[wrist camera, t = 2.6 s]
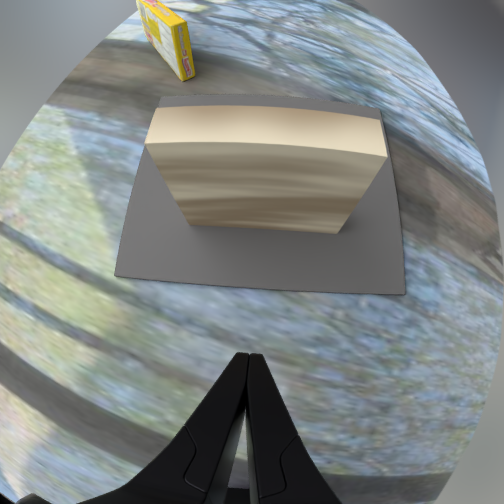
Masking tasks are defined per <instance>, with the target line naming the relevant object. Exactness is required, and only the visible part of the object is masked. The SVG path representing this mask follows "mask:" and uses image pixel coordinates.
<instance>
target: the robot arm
mask: <svg viewBox="0 0 504 504" xmlns="http://www.w3.org/2000/svg"><path fill="white" fill-rule="evenodd" d="M245 409H246V413H245ZM244 416H246V437H247V454H248V471H249V486H250V489H237V488H227V486H228V482H229V478H230V474H231V470H232V466H233V462H234V458H235V454H236V450H237V446H238V442H239V438H240V433H241V429H242V425H243V421H244ZM184 425H185V426H183V427H182V428H181V429H180V431H179V432H178V433H177V434H176V436H175V437H174V438H173V439H172V440H171V442H170V443H169V444H168V445H167V446H166V447H165V448H164V449H163V450H162V451H161V452H160V453H159V454H158V455H157V456H156V457H155V458H154V459H153V460H152V461H151V462H150V463H149V464H148V465H147V466H146V467H145V468H144V469H143V470H141V471H140V472H139V473H138V474H137V475H136V476H135V477H134V478H133V479H131V480H130V481H129V482H128V483H126V484H125V485H123V486H122V487H120V488H118V489H116V490H114V491H111V492H108V493H106V494H103V495H100V496H98V497H95V498H92V499H89V500H86V501H83V502H80V503H77V504H342V502H341V501H340V500H339V499H338V497H337V496H336V495H335V493H334V492H333V491H332V489H331V488H330V486H329V485H328V483H327V482H326V481H325V479H324V478H323V476H322V475H321V473H320V472H319V471H318V469H317V467H316V466H315V464H314V463H313V461H312V459H311V458H310V456H309V454H308V452H307V450H306V448H305V446H304V445H303V442H302V440H301V438H300V436H299V435H298V432H297V430H296V428H295V426H294V423H293V421H292V419H291V417H290V415H289V412H288V410H287V408H286V406H285V404H284V401H283V399H282V397H281V395H280V393H279V390H278V388H277V386H276V384H275V381H274V379H273V377H272V375H271V372H270V370H269V368H268V365H267V363H266V361H265V359H264V356H263V355H262V354H256V353H251V354H250V356H249V354H248V353H242V352H237V353H236V354H235V355H234V357H233V358H232V360H231V361H230V362H229V364H228V365H227V367H226V368H225V370H224V371H223V372H222V374H221V375H220V377H219V378H218V379H217V381H216V382H215V383H214V385H213V386H212V388H211V389H210V390H209V392H208V393H207V394H206V396H205V397H204V399H203V400H202V401H201V403H200V404H199V405H198V407H197V408H196V409H195V411H194V412H193V413H192V415H191V416H190V417H189V419H188V420H187V421H186V423H185V424H184ZM0 504H52V503H50V502H48V501H46V500H44V499H43V498H41V497H39V496H37V495H36V494H34V493H31V494H29V495H27V496H25V497H23V498H22V499H20V500H19V501H17V503H15V502H13V501H12V500H10V499H9V498H7V497H6V496H5V495H3V494H2V493H0Z"/></svg>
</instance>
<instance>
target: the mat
mask: <svg viewBox="0 0 504 504" xmlns="http://www.w3.org/2000/svg"><path fill="white" fill-rule="evenodd" d="M218 105H229V106H265V107H282V108H295V109H306V110H316V111H325V112H333V113H340V114H347V115H354V116H360V117H366V118H372V119H377V120H380V123H381V128H382V132H383V137H384V141H385V146H386V151H387V156H388V157H387V159H386V160H385V162H384V163H383V165H382V167H381V168H380V170H379V171H378V173H377V175H376V176H375V178H374V179H373V181H372V182H371V184H370V185H369V187H368V188H367V190H366V192H365V193H364V195H363V196H362V198H361V199H360V201H359V202H358V204H357V205H356V207H355V208H354V210H353V211H352V213H351V214H350V216H349V217H348V219H347V220H346V222H345V223H344V224H343V226H342V227H341V229H340V230H339V232H338V233H337V234H331V233H318V232H303V231H289V230H273V229H257V228H239V227H221V226H201V225H189V224H188V222H187V220H186V219H185V217H184V215H183V213H182V211H181V210H180V208H179V206H178V204H177V203H176V201H175V199H174V197H173V195H172V194H171V192H170V190H169V188H168V186H167V185H166V183H165V181H164V179H163V177H162V176H161V174H160V172H159V170H158V168H157V166H156V164H155V163H154V161H153V159H152V157H151V155H150V153H149V151H148V150H147V148H146V146H144V150H143V153H142V156H141V160H140V163H139V167H138V170H137V174H136V177H135V181H134V185H133V188H132V192H131V196H130V200H129V204H128V209H127V213H126V217H125V222H124V226H123V231H122V236H121V241H120V246H119V251H118V256H117V262H116V268H115V273H114V276H116V277H125V278H135V279H145V280H155V281H165V282H176V283H188V284H200V285H212V286H225V287H239V288H253V289H269V290H286V291H305V292H326V293H352V294H385V295H405V275H404V258H403V245H402V234H401V224H400V216H399V208H398V200H397V193H396V187H395V180H394V174H393V169H392V163H391V158H390V153H389V148H388V143H387V139H386V134H385V130H384V125H383V121H382V117H381V113H380V109H378V108H372V107H367V106H361V105H355V104H349V103H342V102H335V101H328V100H319V99H310V98H300V97H288V96H273V95H249V94H206V95H182V96H167V97H161V100H160V102H159V105H158V108H165V107H182V106H218Z"/></svg>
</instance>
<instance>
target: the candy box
mask: <svg viewBox="0 0 504 504" xmlns="http://www.w3.org/2000/svg"><path fill="white" fill-rule="evenodd" d="M136 2H137V6H138V11H139V14H140V18H141V22H142V26H143V29H144V33H145V36H146V38H147V39H148V40H149V41H150V42H151V44H152V45H153V46H154V47H155V49H156V50H157V51H158V52H159V54H160V55H161V56H162V57H163V58H164V60H165V61H166V62H167V63H168V64H169V66H170V67H171V68H172V70H173V71H174V72H175V73H176V75H177V76H178V77H179V78H180V79H181V81H182V82H183V81H186V80H188V79H190V78H192V77H194V76H195V70H194V64H193V58H192V51H191V44H190V38H189V32H188V26H187V22H186V21H185V20H183V19H182V18H181V17H180V16H178V15H177V14H176V13H174V12H173V11H171V10H170V9H169V8H167V7H166V6H165V5H163V4H162V3H160V2H159V1H158V0H136Z"/></svg>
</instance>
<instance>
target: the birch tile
mask: <svg viewBox="0 0 504 504" xmlns="http://www.w3.org/2000/svg"><path fill="white" fill-rule="evenodd" d="M144 144H145V146H146V148H147V150H148V151H149V153H150V155H151V157H152V159H153V161H154V163H155V164H156V166H157V168H158V170H159V172H160V174H161V176H162V177H163V179H164V181H165V183H166V185H167V186H168V188H169V190H170V192H171V194H172V195H173V197H174V199H175V201H176V203H177V204H178V206H179V208H180V210H181V211H182V213H183V215H184V217H185V219H186V220H187V222H188V224H189V225H201V226H221V227H239V228H257V229H273V230H289V231H303V232H318V233H331V234H337V233H338V232H339V230H340V229H341V227H342V226H343V224H344V223H345V222H346V220H347V219H348V217H349V216H350V214H351V213H352V211H353V210H354V208H355V207H356V205H357V204H358V202H359V201H360V199H361V198H362V196H363V195H364V193H365V192H366V190H367V188H368V187H369V185H370V184H371V182H372V181H373V179H374V178H375V176H376V175H377V173H378V171H379V170H380V168H381V167H382V165H383V163H384V162H385V160H386V159H387V157H388V156H387V151H386V146H385V141H384V137H383V132H382V128H381V123H380V120H377V119H372V118H366V117H360V116H354V115H347V114H340V113H333V112H325V111H316V110H306V109H295V108H282V107H265V106H229V105H218V106H182V107H165V108H156V111H155V113H154V116H153V119H152V122H151V125H150V128H149V131H148V134H147V137H146V140H145V143H144Z"/></svg>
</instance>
